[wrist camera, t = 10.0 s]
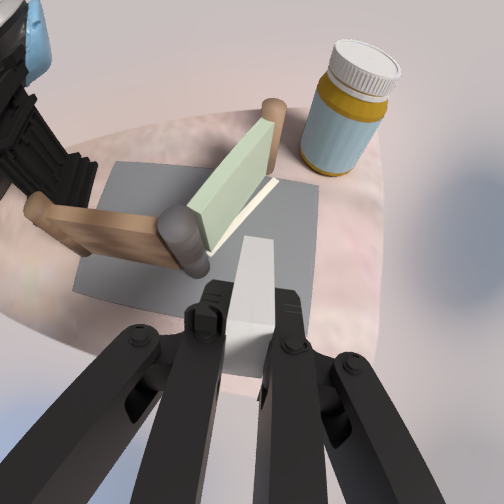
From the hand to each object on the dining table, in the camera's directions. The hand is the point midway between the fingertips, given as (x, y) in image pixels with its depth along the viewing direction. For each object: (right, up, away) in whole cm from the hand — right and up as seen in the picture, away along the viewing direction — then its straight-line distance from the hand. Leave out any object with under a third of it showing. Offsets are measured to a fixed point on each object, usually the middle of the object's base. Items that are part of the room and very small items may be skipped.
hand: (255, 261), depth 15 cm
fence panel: (-1, +6, +12) cm, 14 cm away
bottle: (+9, +12, +17) cm, 23 cm away
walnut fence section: (-12, 0, +11) cm, 16 cm away
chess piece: (-23, +7, +14) cm, 28 cm away
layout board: (-6, +2, +13) cm, 14 cm away
